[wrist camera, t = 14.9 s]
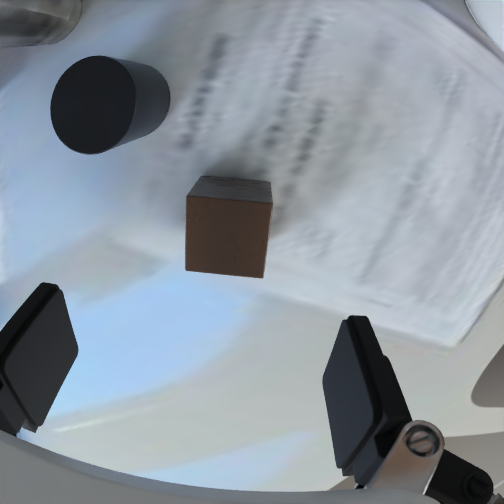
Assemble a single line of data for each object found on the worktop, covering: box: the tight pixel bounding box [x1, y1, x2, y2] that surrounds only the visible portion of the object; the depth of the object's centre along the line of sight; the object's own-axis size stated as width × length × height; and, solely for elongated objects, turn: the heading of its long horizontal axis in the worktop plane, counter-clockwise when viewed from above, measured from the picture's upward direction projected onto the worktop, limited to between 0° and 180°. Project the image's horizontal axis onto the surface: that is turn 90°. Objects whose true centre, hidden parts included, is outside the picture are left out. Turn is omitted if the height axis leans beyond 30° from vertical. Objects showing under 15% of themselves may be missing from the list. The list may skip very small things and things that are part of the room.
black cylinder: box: [50, 56, 170, 155], centre depth 16 cm, size 5×5×6 cm
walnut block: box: [185, 176, 273, 278], centre depth 20 cm, size 4×4×4 cm
